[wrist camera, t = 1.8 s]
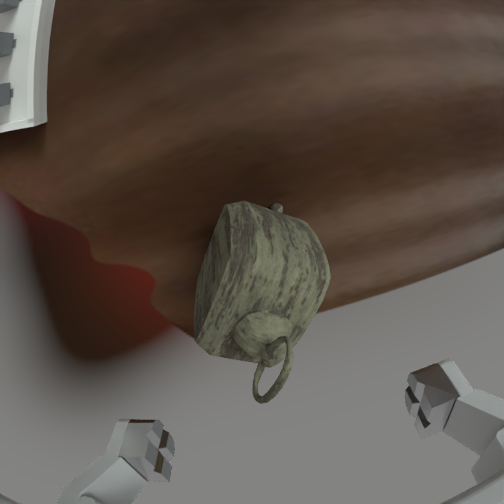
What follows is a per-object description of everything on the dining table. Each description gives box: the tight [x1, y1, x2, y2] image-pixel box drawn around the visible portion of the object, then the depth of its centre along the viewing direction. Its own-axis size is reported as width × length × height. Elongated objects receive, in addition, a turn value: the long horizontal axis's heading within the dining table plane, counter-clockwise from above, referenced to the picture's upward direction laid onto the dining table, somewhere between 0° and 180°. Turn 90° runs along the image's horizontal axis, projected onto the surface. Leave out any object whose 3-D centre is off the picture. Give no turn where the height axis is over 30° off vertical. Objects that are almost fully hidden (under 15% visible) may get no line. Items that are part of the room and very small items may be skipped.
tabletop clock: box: [194, 201, 331, 403], centre depth 32 cm, size 14×9×25 cm, turn 158°
